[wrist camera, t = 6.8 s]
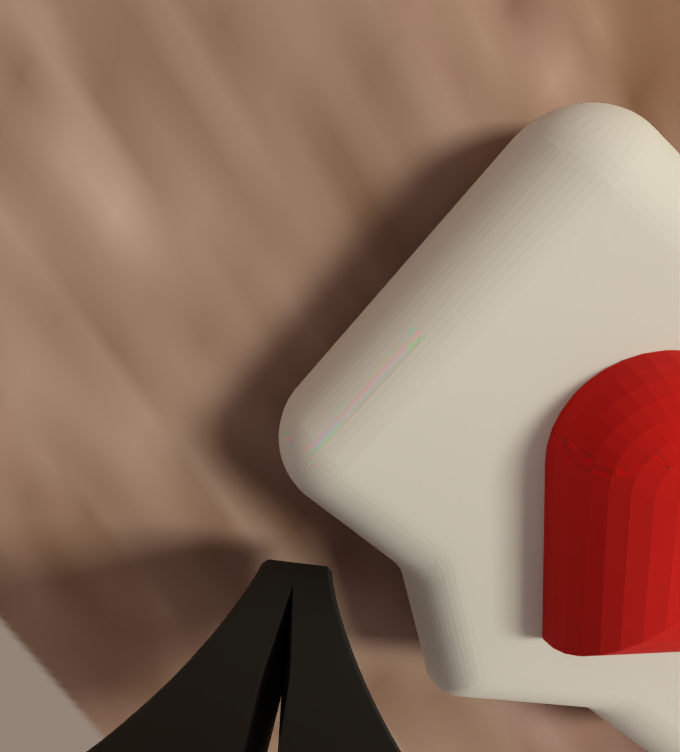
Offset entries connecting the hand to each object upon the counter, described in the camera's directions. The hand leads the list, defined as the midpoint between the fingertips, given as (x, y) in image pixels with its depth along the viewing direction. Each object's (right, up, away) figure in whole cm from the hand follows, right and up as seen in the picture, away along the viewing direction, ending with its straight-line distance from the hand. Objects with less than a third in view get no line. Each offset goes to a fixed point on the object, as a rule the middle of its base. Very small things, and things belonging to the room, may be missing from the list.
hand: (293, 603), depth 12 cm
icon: (+6, +3, +1) cm, 7 cm away
